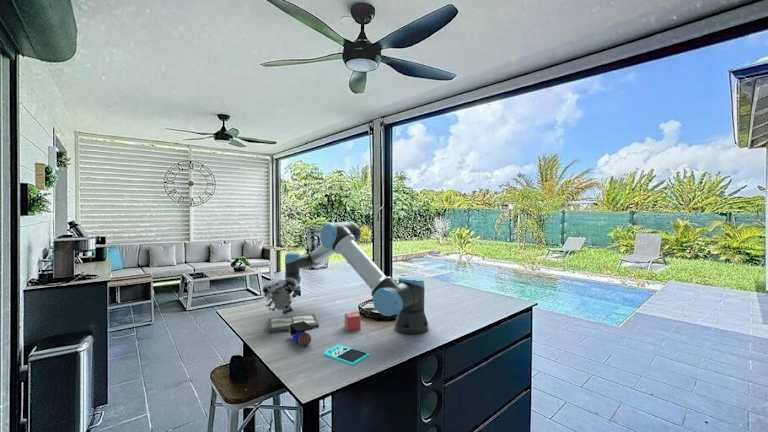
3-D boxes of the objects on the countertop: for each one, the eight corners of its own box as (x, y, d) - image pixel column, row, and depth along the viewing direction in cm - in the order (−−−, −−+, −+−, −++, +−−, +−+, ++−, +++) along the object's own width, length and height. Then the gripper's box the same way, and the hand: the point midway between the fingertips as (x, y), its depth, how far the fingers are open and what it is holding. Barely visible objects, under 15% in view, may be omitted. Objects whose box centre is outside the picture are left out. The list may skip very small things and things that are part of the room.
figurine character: (287, 340, 148) (298, 349, 135) (286, 322, 148) (297, 329, 136) (302, 336, 152) (315, 345, 139) (301, 319, 152) (314, 325, 139)
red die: (360, 329, 156) (360, 315, 156) (347, 330, 154) (347, 317, 154) (357, 324, 162) (357, 311, 162) (344, 326, 160) (344, 313, 160)
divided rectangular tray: (318, 327, 159) (318, 323, 159) (268, 333, 152) (268, 329, 152) (314, 316, 174) (314, 313, 174) (268, 321, 167) (268, 318, 167)
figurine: (266, 314, 162) (258, 285, 160) (290, 305, 168) (282, 276, 165) (271, 320, 155) (262, 289, 152) (296, 310, 160) (287, 280, 158)
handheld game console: (339, 346, 139) (339, 343, 139) (370, 356, 130) (370, 353, 130) (321, 355, 131) (321, 352, 131) (353, 367, 122) (353, 363, 122)
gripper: (310, 292, 180) (303, 305, 158) (267, 293, 178) (253, 307, 156) (310, 278, 179) (303, 289, 157) (266, 279, 178) (253, 290, 156)
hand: (278, 298), depth 157 cm, fingers closed on figurine, 10 cm apart
